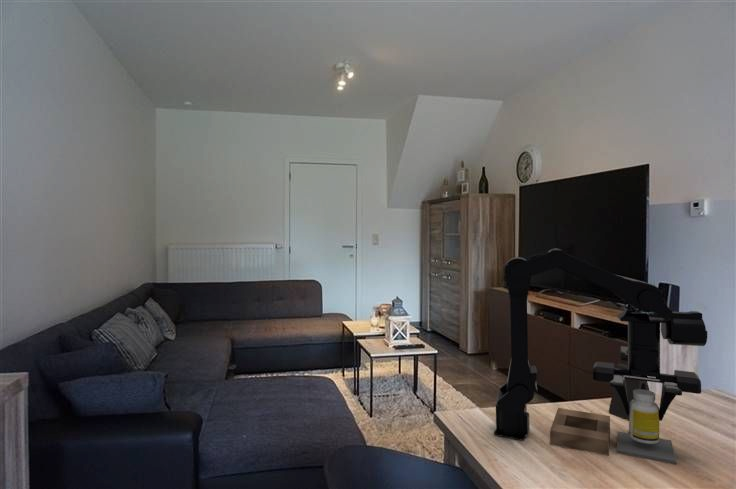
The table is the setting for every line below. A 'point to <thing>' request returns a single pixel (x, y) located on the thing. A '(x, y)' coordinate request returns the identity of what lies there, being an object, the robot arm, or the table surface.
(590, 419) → the pocket holder
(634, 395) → the supplement bottle
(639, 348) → the robot arm
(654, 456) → the coaster
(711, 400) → the table surface
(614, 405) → the phone stand
